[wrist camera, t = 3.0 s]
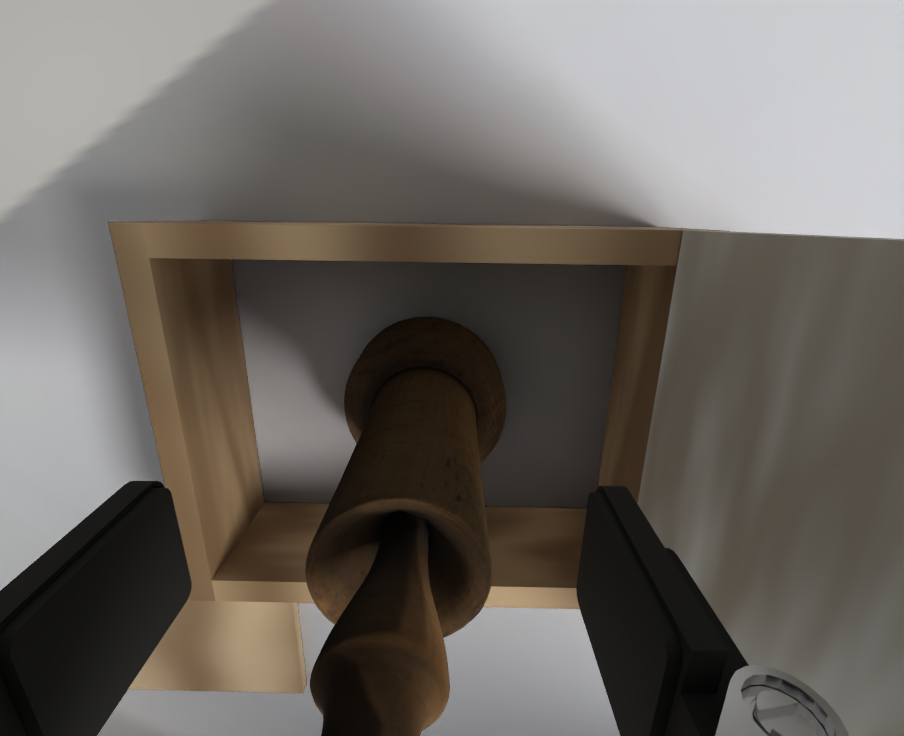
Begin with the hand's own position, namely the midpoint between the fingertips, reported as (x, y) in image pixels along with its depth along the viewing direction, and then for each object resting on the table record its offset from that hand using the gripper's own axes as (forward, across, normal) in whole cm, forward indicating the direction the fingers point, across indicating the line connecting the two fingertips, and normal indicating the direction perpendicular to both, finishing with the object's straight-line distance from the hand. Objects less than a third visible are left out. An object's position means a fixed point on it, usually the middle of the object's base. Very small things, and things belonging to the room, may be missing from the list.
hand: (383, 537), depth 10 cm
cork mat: (+10, +12, +14) cm, 21 cm away
